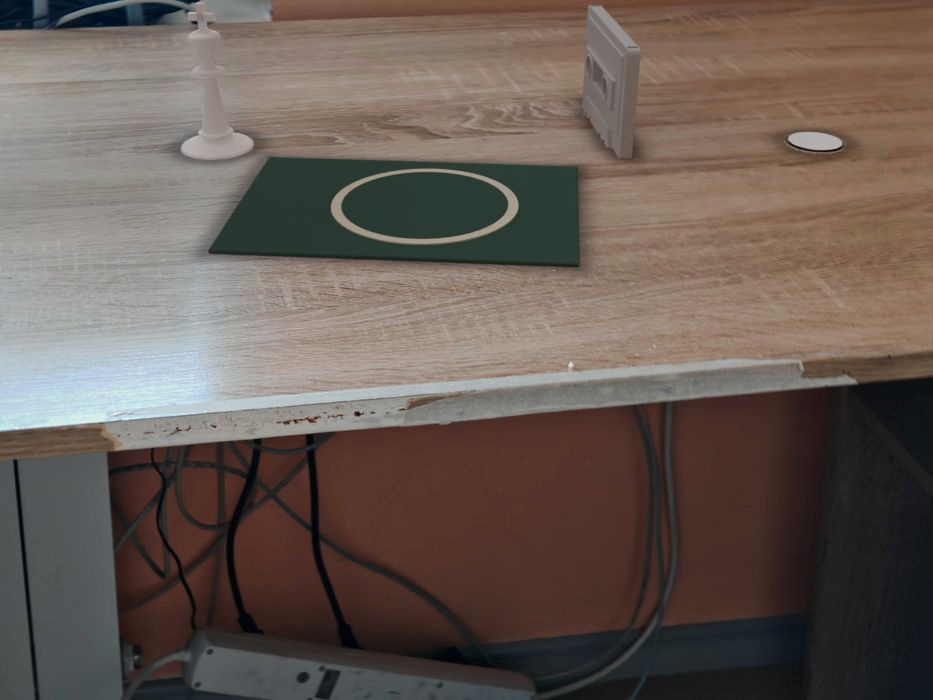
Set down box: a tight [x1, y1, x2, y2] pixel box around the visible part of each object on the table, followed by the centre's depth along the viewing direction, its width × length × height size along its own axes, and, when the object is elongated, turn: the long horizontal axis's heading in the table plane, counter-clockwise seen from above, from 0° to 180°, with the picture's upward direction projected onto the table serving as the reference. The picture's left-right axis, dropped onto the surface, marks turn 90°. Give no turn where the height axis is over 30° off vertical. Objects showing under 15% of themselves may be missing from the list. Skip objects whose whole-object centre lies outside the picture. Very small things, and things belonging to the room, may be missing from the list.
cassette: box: [581, 4, 642, 160], centre depth 74 cm, size 12×2×8 cm, turn 7°
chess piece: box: [180, 1, 255, 161], centre depth 70 cm, size 5×5×10 cm
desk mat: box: [207, 156, 580, 268], centre depth 64 cm, size 20×14×1 cm
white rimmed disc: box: [783, 131, 847, 155], centre depth 73 cm, size 4×4×1 cm
